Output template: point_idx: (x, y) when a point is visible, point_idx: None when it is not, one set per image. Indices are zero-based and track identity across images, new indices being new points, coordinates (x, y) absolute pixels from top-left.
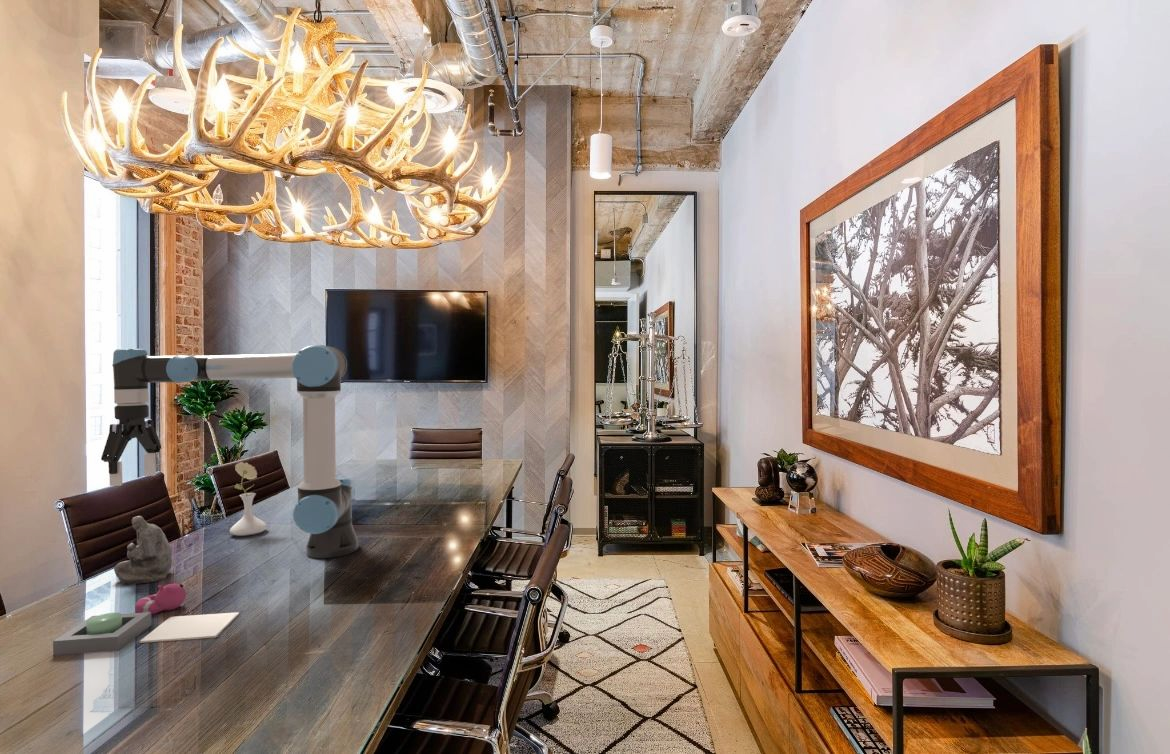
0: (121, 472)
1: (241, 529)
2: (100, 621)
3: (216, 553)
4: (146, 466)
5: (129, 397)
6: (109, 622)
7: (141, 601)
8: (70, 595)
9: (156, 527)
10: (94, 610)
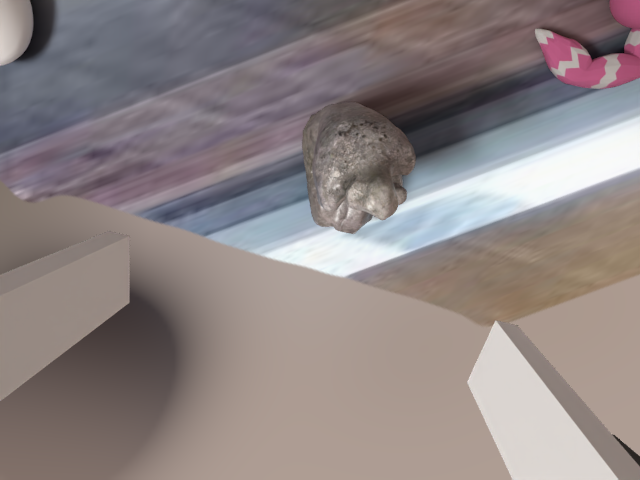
0: (567, 404)
1: (12, 8)
2: None
3: (183, 46)
4: (68, 332)
5: None
6: None
7: (638, 65)
8: (414, 275)
9: (366, 132)
10: (541, 189)
